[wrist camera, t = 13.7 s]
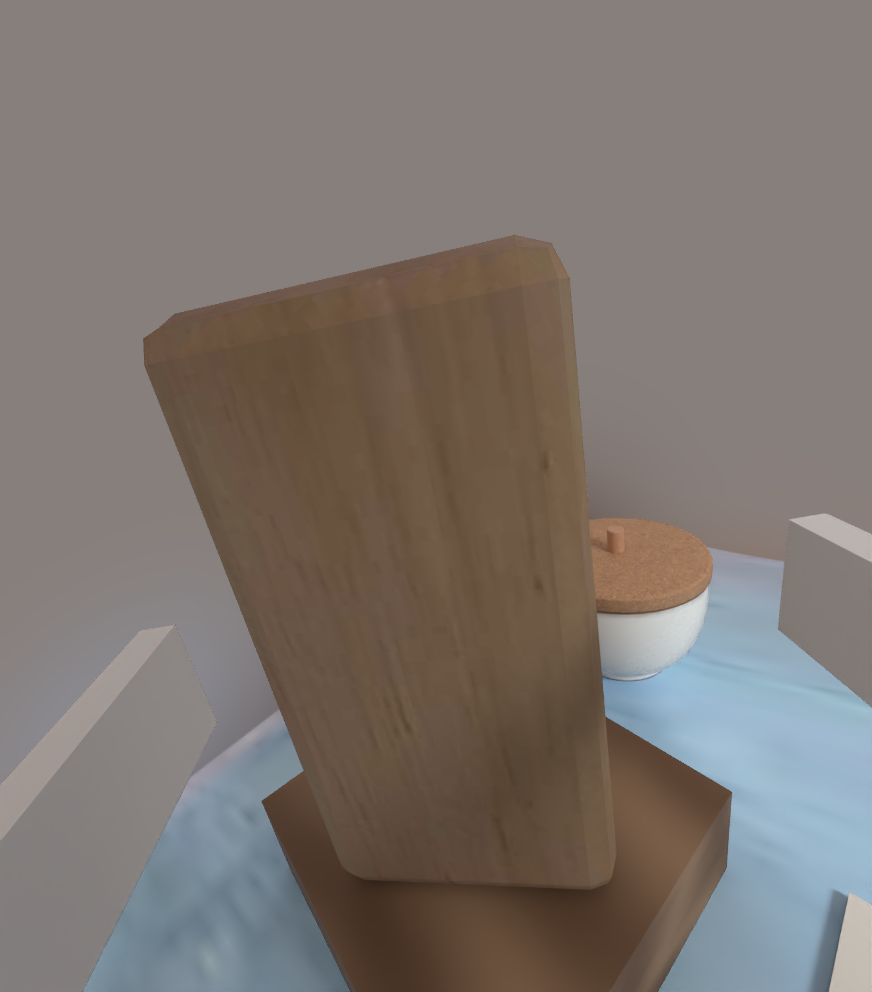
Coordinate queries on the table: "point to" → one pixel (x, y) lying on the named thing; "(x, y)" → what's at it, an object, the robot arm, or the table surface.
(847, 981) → the page
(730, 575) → the table surface
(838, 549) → the robot arm
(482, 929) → the base brick
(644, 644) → the lidded jar
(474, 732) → the wooden block
